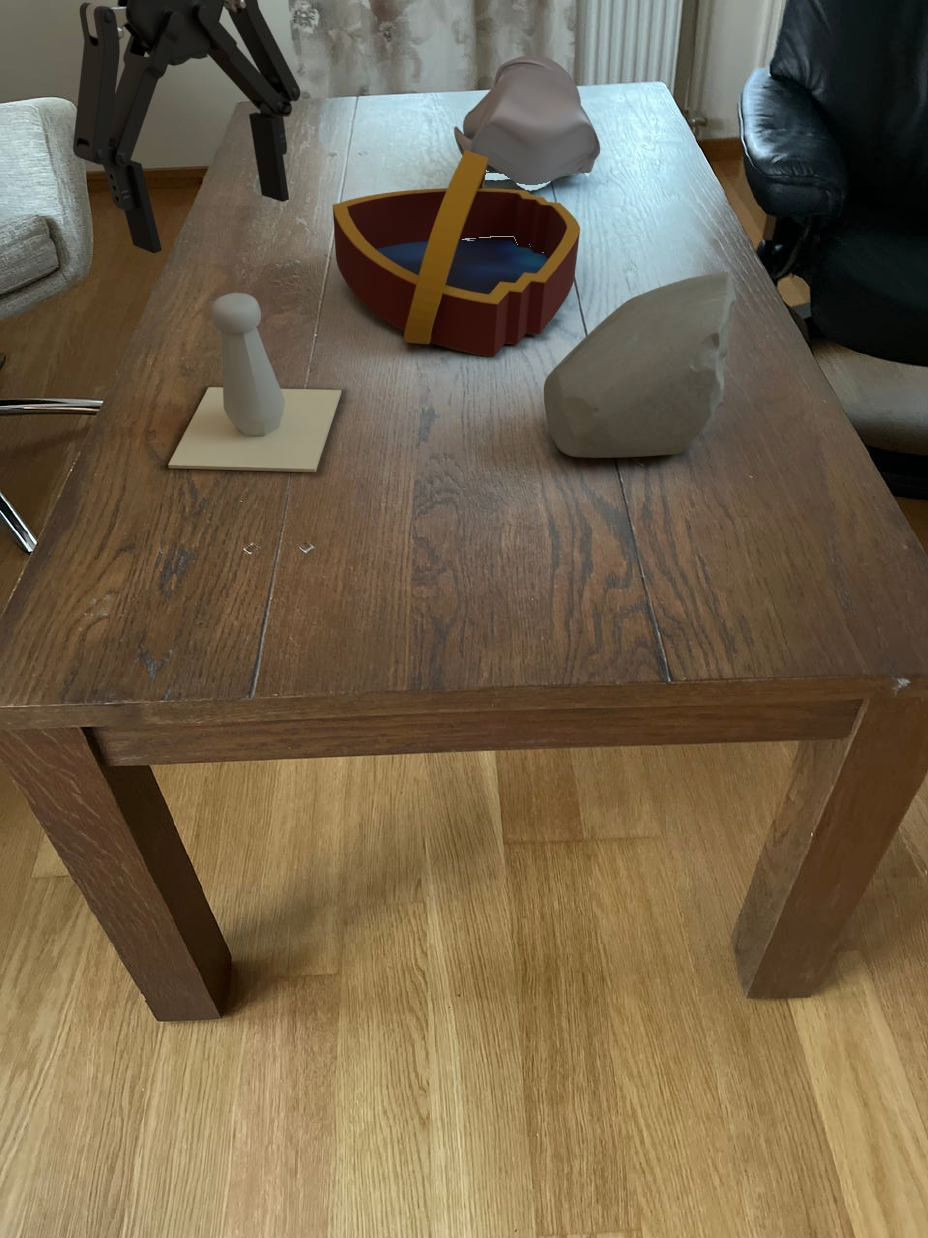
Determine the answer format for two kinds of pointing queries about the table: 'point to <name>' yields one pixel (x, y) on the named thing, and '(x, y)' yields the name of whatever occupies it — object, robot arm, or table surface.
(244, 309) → the salt shaker
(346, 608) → the table surface
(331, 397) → the placemat
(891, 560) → the table surface
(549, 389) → the decorative stone
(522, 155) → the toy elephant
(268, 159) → the robot arm
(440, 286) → the decorative basket
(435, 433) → the table surface
